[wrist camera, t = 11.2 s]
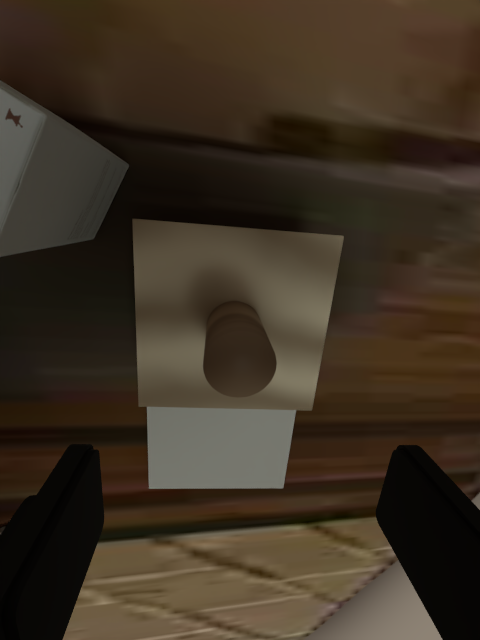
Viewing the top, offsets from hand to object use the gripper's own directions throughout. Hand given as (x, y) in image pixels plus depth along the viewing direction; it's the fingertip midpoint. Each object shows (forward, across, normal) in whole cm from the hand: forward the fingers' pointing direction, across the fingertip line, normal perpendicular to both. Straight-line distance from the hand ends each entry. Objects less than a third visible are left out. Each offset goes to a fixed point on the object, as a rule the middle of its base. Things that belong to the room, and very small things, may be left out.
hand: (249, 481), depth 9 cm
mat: (+21, 0, +14) cm, 25 cm away
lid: (+14, 0, -1) cm, 14 cm away
